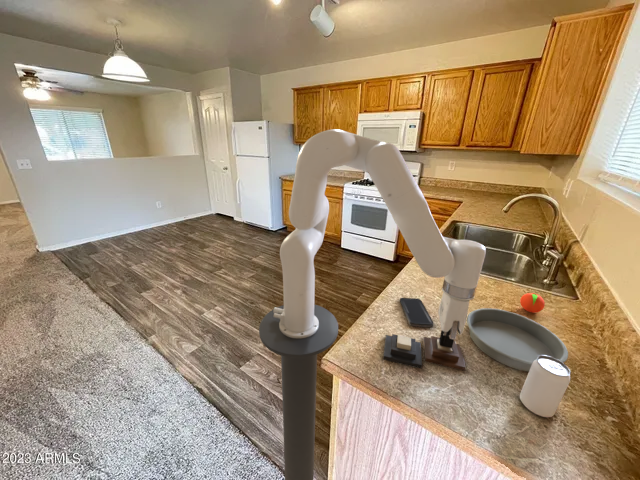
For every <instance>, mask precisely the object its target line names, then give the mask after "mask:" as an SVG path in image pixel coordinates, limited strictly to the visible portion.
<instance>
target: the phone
mask: <svg viewBox="0 0 640 480" xmlns="http://www.w3.org/2000/svg"><path fill="white" fill-rule="evenodd" d="M399 303H400V306H401V308H402V311H403V313H404V315H405V318H406V321H407V323H408V325H410V326H412V327H424V328H426V327H427V328H432V327H433V326H434V321H433V319H432V317H431V315H430V314H429V312H428V310H427V308H426V307H425V305H424V302H423V301H422V299H420V298H416V297H415V298H414V297H400V298H399Z"/></svg>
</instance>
